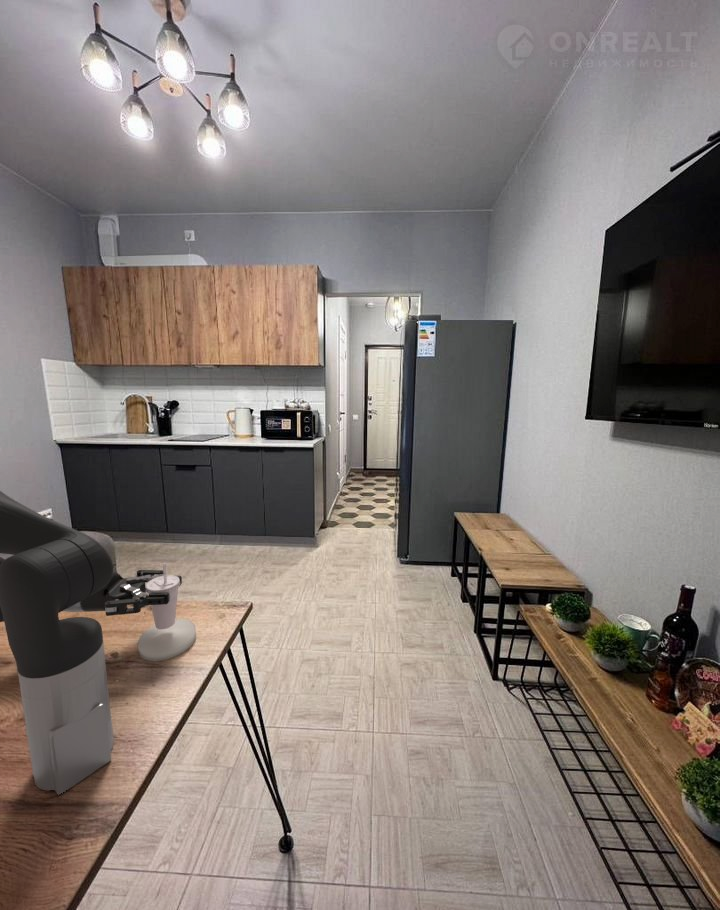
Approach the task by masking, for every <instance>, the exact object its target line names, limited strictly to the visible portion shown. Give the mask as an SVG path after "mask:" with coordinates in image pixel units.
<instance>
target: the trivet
mask: <svg viewBox="0 0 720 910" xmlns="http://www.w3.org/2000/svg"><path fill="white" fill-rule="evenodd" d="M196 630H197V628H196V625H195V623H194V622H193V621H192V620H190V619H186V618H175V623H174V625H173V626H171V627H169V628H167V629H157V628H156V626H155V624H153V625H152V626H150V627H148V628H147V629H145V631H144V632H142V633H141V635H140V636H139V638H138V639H137V649H138V655H139V657H140V658H141V659H143V660H145V661H149V662H160V661H166V660H169V659H173V658H175V657H178V656H179V655H181V654H183V653H184V652H186V651H188V650H189V649H190V648H191V647H192V646H193V644H194V643H195V642H196V640H197V639H196V638H197V631H196Z"/></svg>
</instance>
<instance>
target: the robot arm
mask: <svg viewBox="0 0 720 910" xmlns="http://www.w3.org/2000/svg"><path fill="white" fill-rule="evenodd" d="M0 554H1V555H2V554H3V555H11V556H9V557H7V558H6V559H5V558H3V557H1V556H0V623H3V622H4V627H5V631H6V637H7V641H8V645H9V647H10V650H11V652H12V657H13V659H14V660H15V663H16V670H17V676H18V681H19V689H20V695H21V701H22V702H21V703H22V710H23V717H24V723H25V728H26V729H25V730H26V736H27V737H26V738H27V742H28V743H27V744H28V749H29V750H28V751H29V756H30V761H31V769H32V775H33V781H34V784H35V786H36V787H37V788H39V789H40V790H43V791H50V790H55V791H54V792H56V795H57V794H61V793H62V794H64V793H65V792H67V791H68V790H70V789H71V788H73V787H74V786H75V785H77V784H79V783H80V782H81V781H83V780H84V779H86V778H87V777H89V776H91V775H92V774H93V773H95V772H96V771H97V770H99V769H101V768H102V767H103V766H105V765H107V764H108V763H109V762H111V760H112V756H111V754H112V753H111V752H112V749H113V747H114V742H115V738H114V732H113V731H114V730H113V722H112V721H113V719H112V714H111V713H112V711H111V704H110V703H111V701H110V693H109V683H108V673H107V666H106V665H107V664H106V654H105V646H104V636H103V629H102V625H101V623H100V622H99V621H98V620H97V619H95V618H91V617H87V616H74V617H68V618H62V619H60V617H59V614H60V613H61V612H63V613H64V612H65V613H85V612H86V613H88V612H89V613H91V612H105V616H106V617H110V616H112V617H113V616H120V615H130V614H131V615H132V614H138V613H141V611H142V609H143V608H147V607H149V606H151V605H163V604H168V603H169V601H170V596H169V593H150V594H149V595H148V593H147V592H146V583H148V582H149V581H150V580H152V579H154V578H157V577H160V576H164V574H163V569H160V570H159V569H138V570H136V575H134V576H130V577H125V578H123V577H122V575H121V574H119V573H118V572H115V570H114V564H113V560H112V558H111V556H110V554H109V553H108V551H107V550H106V548H104V546H103V545H102V544H101V543H100V542H98V540H96V539H94V538H93V537H91V536H90V535H88V534H86V533H84V532H81V531H79V530H77V529H75V528H72V527H70V526H67V525H65V524H62V523H60V522H58V521H56V520H53V519H51V518H48V517H46V516H45V515H42V514H40V513H38V512H36V511H35V510H33V509H31V508H29V507H27V506H26V505H24V504H22V503H20V502H18V501H17V500H15V499H14V498H12V497H10V496H9V495H7V494H5V493H4V492H3V491H1V490H0ZM176 576H177V577H179V579H180V585H179V587H181V585H182V584H183V577H182V576H181V575H176ZM129 606H130V607H129ZM66 790H67V791H66ZM63 792H64V793H63ZM62 794H61V795H62Z"/></svg>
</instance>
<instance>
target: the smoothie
mask: <svg viewBox="0 0 720 910" xmlns="http://www.w3.org/2000/svg"><path fill="white" fill-rule="evenodd" d="M162 570H163V574H164V576H160V577H157V578H154V579H152V580H150V581H149V582H146V583H145V587H146V593H147V594H148V595H149V594H150V593H169V596H170V601H169V603H168V604H163V605H150V608H151V612H152V618H153V621H154V625H155V626H156V628H157V629H167V628H169V627H171V626H173V625H174V623H175V619H176V614H177V605H178V604H177V603H178V595H179V594H178V593H179V587H180V586H181V585H180V579H179V577H177V576H178V575H172V574H171V575H170V574H167V562H163V563H162ZM179 585H180V586H179Z"/></svg>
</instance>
